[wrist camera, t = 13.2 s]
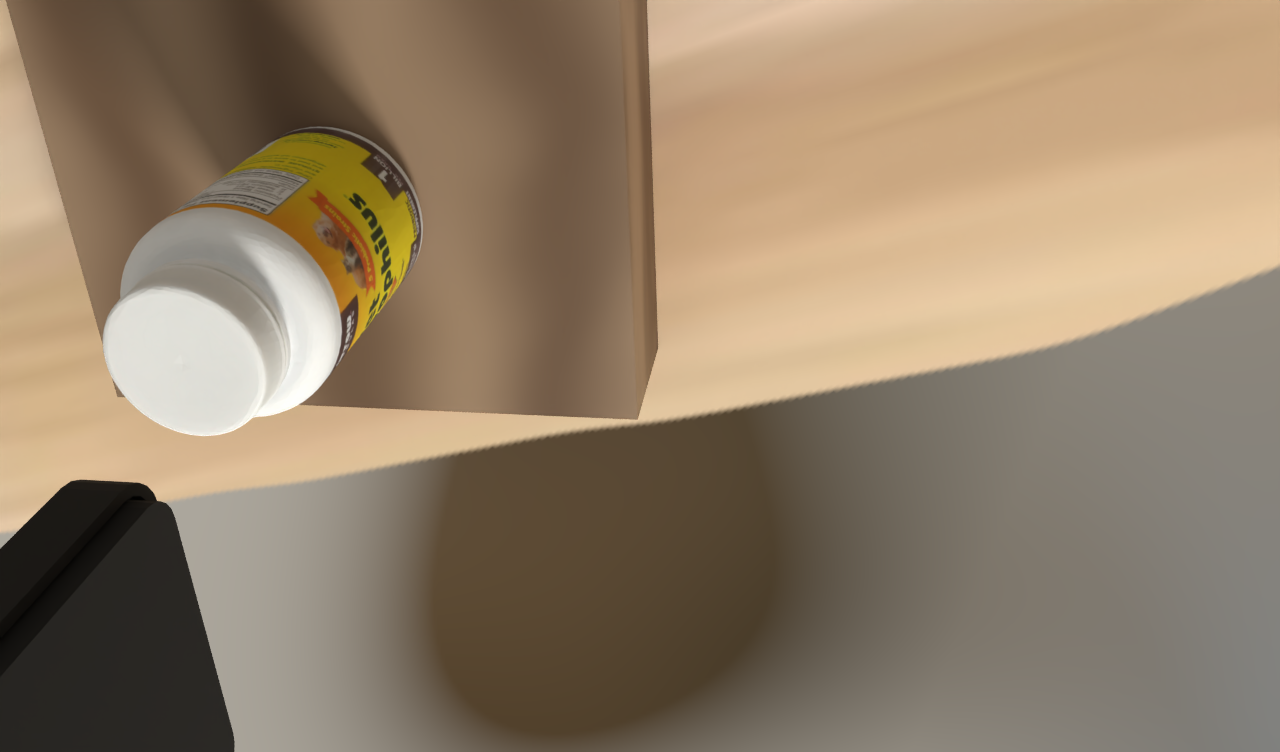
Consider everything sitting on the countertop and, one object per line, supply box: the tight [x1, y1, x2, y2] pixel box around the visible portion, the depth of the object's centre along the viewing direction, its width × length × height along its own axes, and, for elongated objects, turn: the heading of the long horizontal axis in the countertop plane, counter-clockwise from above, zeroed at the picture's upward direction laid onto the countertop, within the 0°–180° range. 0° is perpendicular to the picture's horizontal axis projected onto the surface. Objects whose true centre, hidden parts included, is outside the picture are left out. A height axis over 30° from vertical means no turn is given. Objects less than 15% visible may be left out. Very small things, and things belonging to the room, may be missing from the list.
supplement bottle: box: [103, 127, 423, 436], centre depth 32 cm, size 6×6×10 cm
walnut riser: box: [6, 0, 658, 420], centre depth 39 cm, size 18×14×5 cm
